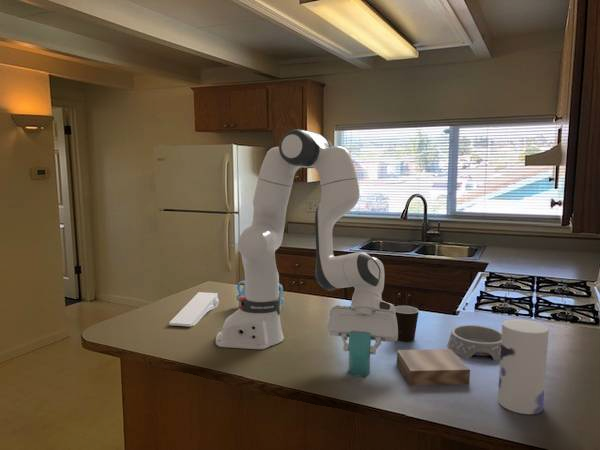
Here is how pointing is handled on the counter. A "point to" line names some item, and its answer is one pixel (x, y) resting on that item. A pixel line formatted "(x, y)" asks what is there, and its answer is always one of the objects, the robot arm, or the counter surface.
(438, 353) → the wavy tan tile
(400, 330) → the coffee mug
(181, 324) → the white curved piece
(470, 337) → the dog bowl
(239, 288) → the blue figurine
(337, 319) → the robot arm
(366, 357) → the teal rounded cylinder
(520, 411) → the container
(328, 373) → the counter surface
